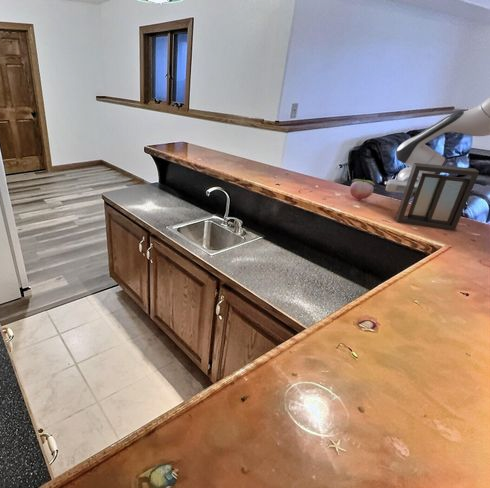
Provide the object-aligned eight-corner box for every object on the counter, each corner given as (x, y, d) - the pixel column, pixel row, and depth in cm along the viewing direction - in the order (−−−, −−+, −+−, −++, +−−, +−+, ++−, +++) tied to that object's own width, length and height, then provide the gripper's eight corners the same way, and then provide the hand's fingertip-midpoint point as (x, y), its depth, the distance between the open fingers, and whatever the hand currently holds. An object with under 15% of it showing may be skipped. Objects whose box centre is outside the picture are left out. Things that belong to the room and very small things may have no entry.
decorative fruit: (370, 198, 156) (376, 177, 152) (370, 204, 150) (376, 181, 145) (347, 195, 160) (353, 174, 156) (346, 200, 154) (351, 178, 149)
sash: (427, 215, 134) (443, 172, 126) (429, 220, 130) (446, 175, 122) (405, 212, 136) (420, 170, 129) (407, 217, 133) (422, 173, 125)
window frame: (451, 225, 130) (474, 168, 120) (454, 230, 125) (479, 171, 116) (395, 217, 136) (413, 162, 127) (397, 222, 132) (416, 165, 123)
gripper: (386, 173, 144) (389, 182, 133) (445, 180, 137) (454, 189, 126) (381, 188, 147) (384, 198, 136) (439, 195, 140) (448, 206, 128)
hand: (418, 194), depth 131 cm, fingers closed on sash, 2 cm apart
